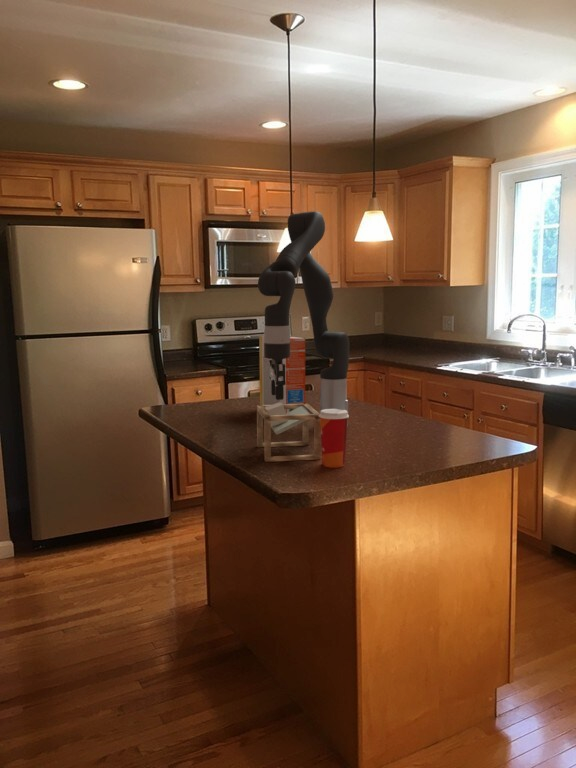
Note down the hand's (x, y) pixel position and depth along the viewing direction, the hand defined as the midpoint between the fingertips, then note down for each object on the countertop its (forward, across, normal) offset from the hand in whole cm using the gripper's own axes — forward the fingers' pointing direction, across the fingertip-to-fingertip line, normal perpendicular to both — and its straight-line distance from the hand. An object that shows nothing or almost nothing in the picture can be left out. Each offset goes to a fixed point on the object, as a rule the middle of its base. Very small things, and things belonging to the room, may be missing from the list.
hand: (277, 397), depth 188 cm
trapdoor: (+7, 0, -4) cm, 8 cm away
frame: (+17, 0, -3) cm, 17 cm away
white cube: (+7, 0, 0) cm, 7 cm away
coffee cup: (+17, -16, -13) cm, 27 cm away
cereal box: (+17, +61, -11) cm, 64 cm away
